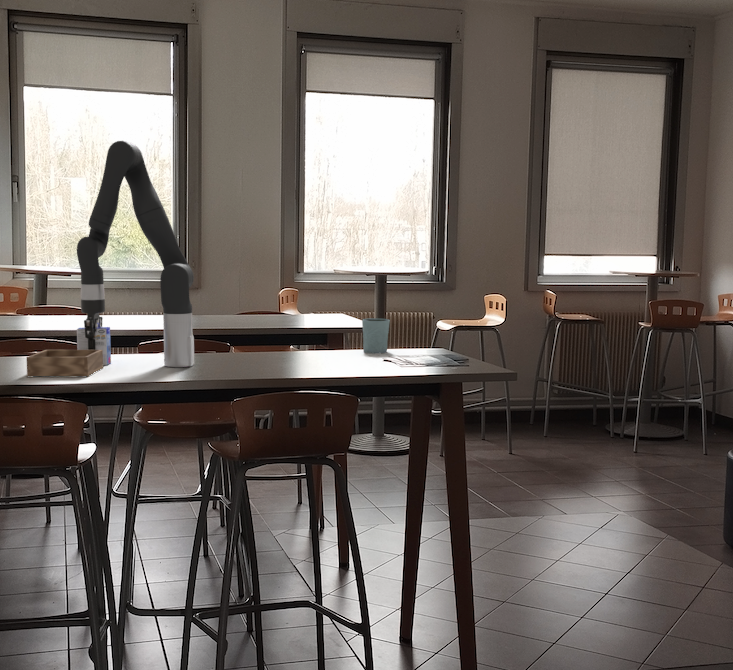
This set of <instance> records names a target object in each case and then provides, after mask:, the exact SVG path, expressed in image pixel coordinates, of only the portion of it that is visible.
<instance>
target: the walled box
mask: <svg viewBox="0 0 733 670" xmlns="http://www.w3.org/2000/svg"><path fill="white" fill-rule="evenodd" d="M102 368H103V369H104V365H103V350H77V349H44V350H42V351H39V352H37V353H34V354H31V355H29V356H27V357H26V377H27V376H89V375H91V374H93V373H94V372H96V371H98V370H99V371H101V370H102ZM100 369H101V370H100ZM99 371H98V372H99ZM96 373H97V372H96ZM94 374H95V373H94ZM94 374H93V375H94ZM91 376H92V375H91ZM89 377H90V376H89Z"/></svg>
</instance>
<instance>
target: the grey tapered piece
mask: <svg viewBox="0 0 733 670" xmlns="http://www.w3.org/2000/svg"><path fill="white" fill-rule="evenodd" d="M361 322H362V339H363V340H362V341H363V342H362V344H363V353H365V354H385V353H388V341H389V333H390V332H389V331H390V324H391V323H390V322H391V321H390V319H387V318H380V317H379V318H373V317H371V318H368V317H367V318H363V319H362V321H361Z"/></svg>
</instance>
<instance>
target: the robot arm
mask: <svg viewBox="0 0 733 670" xmlns="http://www.w3.org/2000/svg"><path fill="white" fill-rule="evenodd" d="M124 178H125V180H126V182H127V184H128V187H129V190H130V195H131V202H132V207H133V212H134V215H135V218H136V221H137V222H138V226H139V227H140V229H141V231H142V233H143V235H144V237H145V238H146V239H147V240H148V242H149V244H151V246H152V248H154V250H155V251H156V253H157V255H158V257H159V259H160V263H162V267H163V269H162V271H161V273H160V282H159V285H160V300H161V301H160V303H161V306H162V309H163V311H162V312H163V313H162V316H163V358H164V359H163V363H164V365H163V366H164V367H169V368H183V367H184V368H185V367H193V366H194V365H195V337H194V335H193V332H194V331H193V305H192V303H191V299H190V288H191V287H192V286H193V284H194V279H195V277H194V275H195V274H194V272H193V270H192V267H191V266H190V265H189V262H188V261H187V259H186V257H185V255H184V253H183V252H182V250H181V248H180V246H179V244H178V241H177V238H176V235H175V232H174V230H173V227H172V225H171V222H170V219H169V217H168V215H167V213H166V210H165V208H164V206H163V203H162V202H161V200H160V197H159V194H158V193H157V191H156V188H155V187H154V185H153V183H152V180H151V178H150V176H149V173H148V170H147V167H146V164H145V160H144V157H143V154H142V151H141V150H140V148H139V147H138V146H137V145H136V144H134V143H132V142H129V141H124V140H117V141H115V142H113V143H112V144H111V145H110V146H109V147H108V150H107V153H106V160H105V164H104V171H103V175H102V178H101V179H102V180H101V184H100V188H99V191H98V195H97V197H96V199H95V203H94V205H93V208H92V210H91V213H90V218H89V219H88V226H89V228H90V229H89V233H88V236H84V237H82V238H81V239H79V241H78V242H77V246H76V255H77V260H78V261H77V262H78V266H79V269H80V284H81V285H80V311H81V313H83V314H86V318H85V319H84V320H83V324H84V328H85V337H86V338H87V339H88V350H96V347H95V338H96V337H95V336H96V332H97V328H98V324H99V323H100V327H103V319H104V317H103V316H100V314H103V313H105V312H106V299H105V298H106V296H105V293H106V292H105V291H106V290H105V285H104V282H105V281H104V269H103V268H102V267H101V266H100V261H99V258H100V257H102V256H103V255H104V254H105V253H106V250H107V248H108V243H109V237H110V229H111V228H112V225H113V222H114V220H115V216H116V213H117V210H118V206H119V205H118V204H119V196H120V191H121V186H122V183H123V181H124ZM94 328H95V329H94ZM90 332H91V334H90Z"/></svg>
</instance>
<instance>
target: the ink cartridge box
mask: <svg viewBox="0 0 733 670" xmlns="http://www.w3.org/2000/svg"><path fill="white" fill-rule="evenodd" d="M94 329H95V328H94ZM90 334H91V332H90ZM95 337H96V338H95V347H96V350H103V366H108V365H110V364H112V356H111V355H112V354H111V347H112V346H111V327H110V326H107V327H106V326H102V327H100V323H99V324H98V328H97V332H96V336H95ZM76 342H77V343H76V347H77V349H76V350H88V339H87V338H86V337H85V327H78V328H77V329H76Z"/></svg>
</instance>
